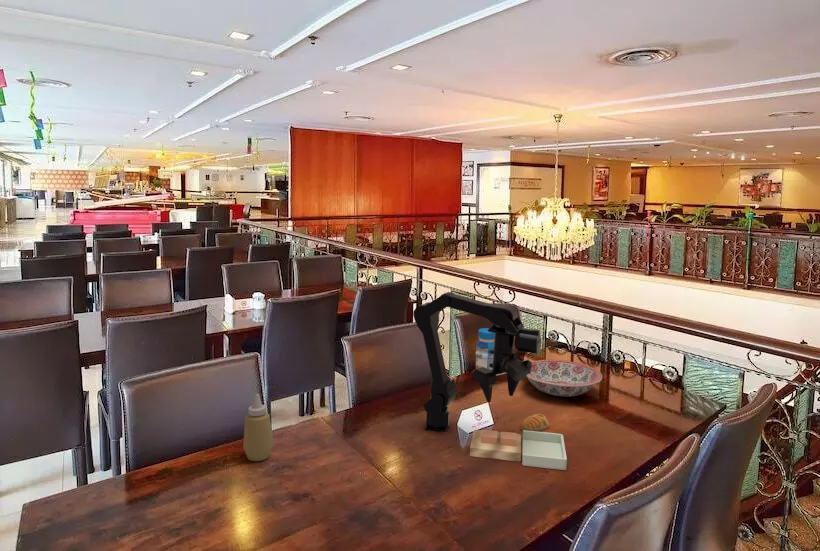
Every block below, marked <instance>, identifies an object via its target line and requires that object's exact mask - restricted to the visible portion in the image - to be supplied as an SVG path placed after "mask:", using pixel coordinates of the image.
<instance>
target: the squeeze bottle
mask: <svg viewBox="0 0 820 551" xmlns="http://www.w3.org/2000/svg"><path fill="white" fill-rule="evenodd" d="M243 432H244V433H243V445H242V448H243V450H244V452H245V455H246V457H247V459H248V461H252V462H261V461H264V460H266V459H268V458H269V457H270V454H271V452H272V450H273V446H274V440H273V438H274V437H273V432H272V424H271V417H270V414H269V413H268V412H267V406H266V405H265V404H262V401H261V396H260V394H259V393H254V397H253V402H252V405H249V407H248V414H247V415H246V416H245V417H244V430H243Z"/></svg>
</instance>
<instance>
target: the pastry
mask: <svg viewBox="0 0 820 551" xmlns="http://www.w3.org/2000/svg"><path fill="white" fill-rule="evenodd" d="M549 426H550V423H549V421H548V419H547V417H546V416H545V415H544V414H542V413H535V414H533V415H528V416H527V417H525V419H523V421H522V422H520V430H522V431H523V430H526V431H536V432H541V431H543V430H546V429H548V428H549Z"/></svg>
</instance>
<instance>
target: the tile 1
mask: <svg viewBox="0 0 820 551" xmlns="http://www.w3.org/2000/svg"><path fill="white" fill-rule="evenodd" d="M498 432H499V430H490V429H482V435H481V443H488V444H497V439H498Z"/></svg>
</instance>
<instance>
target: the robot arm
mask: <svg viewBox="0 0 820 551" xmlns="http://www.w3.org/2000/svg"><path fill="white" fill-rule="evenodd" d="M447 308H450V309H454V310H457V311H461V312H463V313H467V314H471V315H475V316H478V317H481V318H483V319H485V320H487V321H488V322H490V323H491V324H492V326H491V327H489V329H488V332H493V333H495V336H494V349H493V350H490V353H491V354H493V363H490V365H489V367H491V368H493V370H489V369H487V368H484V367H482V368H478V369H476V368H475V369H473V370H472V379H473V380H475V381H476V382H478V384H479V386H480V387H481V390H482V393H483V395H484V398H485V400H486V402H488V403H489V404H490V403H491V401H492V397H493V396H492V394H493V387H494V386H495V385H496V384H497V382H495V381H496V379H497V376H500V375H506V378H507V391H508V395H509V397H513V396H514V394H515V392H516V389H517V387H518V385H519V383H520V381H521V380H525V379H526V378H527V374H529V373H531V368H532V365H531V361H530V360H529V359H525V360H520V359H518V358H517V357H518V355H517V352H515V351H514V347H515V349H516V350H518V352H523V353H528V354H534V355H538V354H540V351H541V348H542V335H541V330H540V329H538V328H537V329H536V328H535V329H532V328H531V329H530V328H525V324H523V322H522V320H521V319H520V317H519V312H518V309H517V308H516V307H515V305H512V304H509V303H508V304H507V303H500V302H499V303H488V302H485V301H480V300H478V299H474V298H470V297H466V296H463V295H460V294H456V293H453V292H451V291H448V292H444V293H441V295H440V296H439V297H437V298H435V299H434V300H432V301H431V302H429V301H428V302H424V303H423V304H420V305H418V306H416V307H415V309H414V310H413V313H412V314H413V319H414V322H415V324H416V327H417V328H418V330H419V331H420V332H421V334H422V336H423V341H424V346H425V351H426V356H427V359H428V365H429V370H430V374H431V382H430V383H431V384H430V399H428V400H427V401H425V403H423V408H424V411H425V412H426V418H425V419H426V421H425V422H426V423H425V424H426V425H425V427H424V429H425V430H428V431H437V432H446V431H447V429H448V428H449V425H450V411H449V407H448V406H449V405H450V404H451V402H452V401H454V400H455V398H456V396H457V392H458V389H457V386H456V380H455V378H450V377H449V375H448V373H447V369H446V365H445V360H444V355H443V350H442V346H441V340H440V335H439V332H438V331H439V330H438V329H439V324H440V323H439V322H440V314H439V313H440V312H441V311H443V310H445V309H447Z"/></svg>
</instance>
